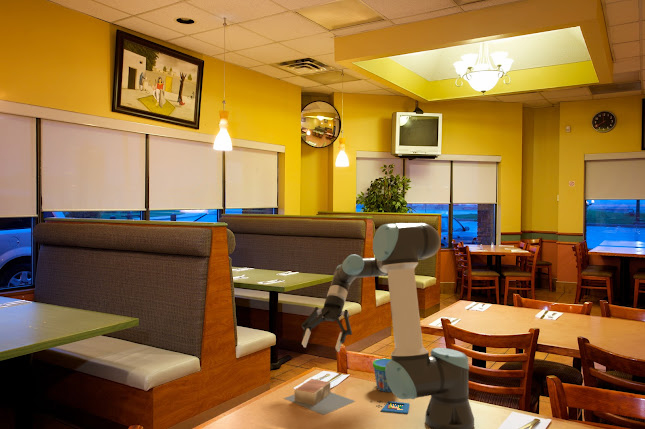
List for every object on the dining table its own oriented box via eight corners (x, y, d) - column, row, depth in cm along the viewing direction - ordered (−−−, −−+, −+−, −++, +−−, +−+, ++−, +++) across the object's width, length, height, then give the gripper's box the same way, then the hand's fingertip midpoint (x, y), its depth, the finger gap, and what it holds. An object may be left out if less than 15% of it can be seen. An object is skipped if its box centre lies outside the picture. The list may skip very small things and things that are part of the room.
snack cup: (370, 381, 198) (370, 356, 198) (397, 381, 198) (397, 355, 198) (375, 397, 182) (375, 369, 182) (404, 397, 183) (404, 369, 182)
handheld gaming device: (367, 398, 180) (409, 402, 176) (367, 401, 180) (409, 405, 176) (363, 407, 172) (407, 411, 168) (363, 410, 172) (407, 415, 168)
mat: (355, 402, 178) (355, 401, 178) (323, 416, 166) (323, 415, 166) (315, 388, 192) (315, 386, 192) (283, 400, 180) (283, 398, 180)
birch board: (311, 378, 189) (294, 389, 178) (330, 382, 185) (314, 393, 174) (311, 389, 189) (294, 400, 178) (330, 393, 185) (314, 405, 174)
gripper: (367, 307, 197) (354, 356, 184) (310, 302, 207) (293, 348, 194) (363, 296, 192) (349, 346, 179) (304, 291, 202) (286, 338, 189)
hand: (320, 347), depth 186 cm, fingers open, 13 cm apart
